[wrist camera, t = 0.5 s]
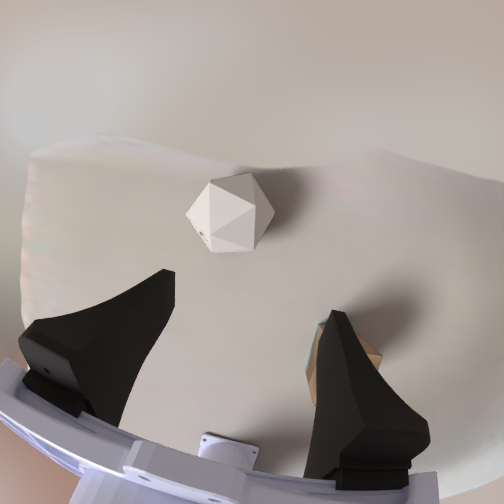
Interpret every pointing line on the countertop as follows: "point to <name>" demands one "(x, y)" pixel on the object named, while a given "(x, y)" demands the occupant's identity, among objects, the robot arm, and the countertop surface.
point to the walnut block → (311, 363)
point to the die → (231, 214)
